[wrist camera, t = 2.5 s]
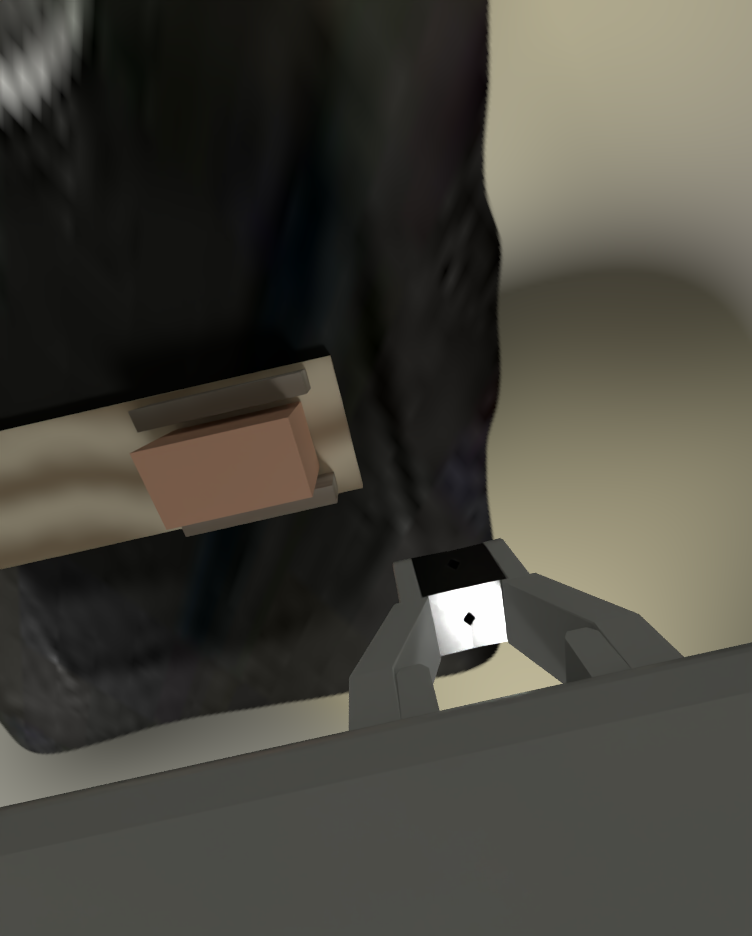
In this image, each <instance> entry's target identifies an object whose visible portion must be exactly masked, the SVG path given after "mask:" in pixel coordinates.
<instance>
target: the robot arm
mask: <svg viewBox="0 0 752 936" xmlns="http://www.w3.org/2000/svg"><path fill="white" fill-rule="evenodd" d="M393 569H394V575H395V580H396V586H397V591H398V596H399V602H400V603H397V604H394V606H393V607H392V609H391V611H390V612H389V614H388V615H387V617H386V619H385V620H384V622H383V624H382V625H381V627H380V628H379V630H378V632H377V633H376V635H375V637H374V638H373V640H372V641H371V643H370V645H369V646H368V648H367V650H366V651H365V653H364V654H363V656H362V658H361V659H360V661H359V663H358V664H357V666H356V668H355V669H354V671H353V672H352V674H351V676H350V677H349V731H346V732H342V733H337V734H332V735H328V736H323V737H319V738H314V739H310V740H305V741H301V742H296V743H291V744H287V745H282V746H278V747H273V748H269V749H264V750H260V751H255V752H251V753H246V754H241V755H237V756H232V757H228V758H223V759H219V760H214V761H210V762H205V763H200V764H196V765H192V766H187V767H182V768H178V769H173V770H168V771H164V772H159V773H155V774H150V775H146V776H141V777H137V778H132V779H128V780H123V781H118V782H114V783H109V784H105V785H100V786H96V787H91V788H87V789H82V790H77V791H73V792H69V793H64V794H59V795H55V796H50V797H46V798H41V799H36V800H32V801H27V802H23V803H18V804H13V805H9V806H4V807H0V936H752V642H751V643H747V644H743V645H738V646H734V647H729V648H724V649H720V650H716V651H711V652H706V653H702V654H697V655H693V656H688V657H683V656H682V655H681V654H680V653H679V652H678V651H677V650H676V649H675V648H674V647H673V646H672V645H671V644H670V643H669V642H668V641H667V640H666V639H665V638H663V637H662V636H661V635H660V634H659V633H658V632H657V631H656V630H655V629H654V628H653V627H652V626H651V625H650V624H649V623H648V622H647V621H646V620H645V619H643V617H641V616H640V615H639V614H637V613H635V612H632V611H630V610H627V609H625V608H622V607H619V606H617V605H615V604H612V603H610V602H607V601H605V600H602V599H599V598H597V597H595V596H592V595H589V594H587V593H584V592H582V591H580V590H577V589H574V588H572V587H570V586H567V585H565V584H562V583H559V582H557V581H555V580H552V579H549V578H547V577H544V576H542V575H539V574H537V573H532V574H529V572H527V570H526V569H525V567H524V566H523V565H522V563H521V562H520V561H519V560H518V558H517V557H516V556H515V555H514V553H513V552H512V551H511V549H510V548H509V547H508V545H507V544H506V543H505V542H504V540H503V539H500V538H499V539H495V540H491V541H487V542H483V543H481V544H477V545H473V546H469V547H464V548H460V549H456V550H452V551H448V552H447V551H446V552H441V553H436V554H431V555H426V556H421V557H416V558H411V559H406V560H402V561H397V562H393ZM505 641H508V642H509V644H511V645H512V646H514V647H515V648H516V649H518V650H519V651H520V652H522V653H523V654H524V655H525V656H527V657H528V658H529V659H531V660H532V661H534V662H535V663H536V664H537V665H539V666H540V667H542V668H543V669H544V670H546V671H547V672H548V673H550V674H551V675H552V676H554V677H555V678H556V679H558V680H559V681H560V682H562V683H563V684H560V685H555V686H550V687H546V688H541V689H537V690H532V691H528V692H524V693H519V694H514V695H510V696H505V697H501V698H496V699H492V700H487V701H482V702H478V703H474V704H469V705H464V706H460V707H455V708H451V709H446V710H442V711H439V707H438V703H437V699H436V695H435V691H434V687H433V683H434V680H435V676H436V673H437V670H438V666H439V663H440V660H441V656H442V655H446V654H450V653H454V652H458V651H462V650H466V649H470V648H474V647H479V646H484V645H490V644H495V643H500V642H505Z"/></svg>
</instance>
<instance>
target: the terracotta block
mask: <svg viewBox="0 0 752 936" xmlns="http://www.w3.org/2000/svg"><path fill="white" fill-rule="evenodd" d="M129 454H130V456H131V458H132V460H133V462H134V464H135V466H136V468H137V470H138V472H139V474H140V476H141V478H142V480H143V482H144V485H145V487H146V489H147V491H148V493H149V495H150V497H151V499H152V501H153V503H154V505H155V507H156V509H157V511H158V513H159V515H160V518H161V520H162V522H163V524H164V526H165V528H166V530H169V529H173V528H178V527H182V526H187V525H191V524H195V523H200V522H204V521H209V520H213V519H218V518H222V517H226V516H231V515H235V514H240V513H244V512H249V511H253V510H257V509H262V508H266V507H271V506H275V505H280V504H284V503H289V502H293V501H297V500H302V499H306V498H311V497H313V493H314V489H315V485H316V480H317V476H318V472H319V468H320V466H319V462H318V459H317V455H316V452H315V448H314V445H313V441H312V438H311V435H310V431H309V428H308V424H307V421H306V417H305V414H304V410H303V407H302V403H301V401H300V402H295V403H291V404H286V405H282V406H278V407H273V408H269V409H264V410H260V411H256V412H251V413H247V414H243V415H238V416H234V417H229V418H225V419H221V420H216V421H212V422H208V423H203V424H199V425H194V426H190V427H186V428H181V429H177V430H174V431H172V432H170V433H168V434H166V435H164V436H162V437H160V438H158V439H156V440H154V441H153V442H151V443H149V444H147V445H145V446H143V447H141V448H139V449H137V450H135V451H133V452H131V453H129Z"/></svg>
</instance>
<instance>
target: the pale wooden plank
mask: <svg viewBox="0 0 752 936" xmlns="http://www.w3.org/2000/svg"><path fill="white" fill-rule="evenodd" d="M300 401H301V403H302V407H303V410H304V414H305V417H306V421H307V424H308V428H309V431H310V435H311V438H312V441H313V445H314V448H315V452H316V455H317V459H318V462H319V466H320V468H319V472H318V476H317V480H316V485H315V489H314V493H313V497H311V498H306V499H302V500H297V501H293V502H289V503H284V504H280V505H275V506H271V507H266V508H262V509H257V510H253V511H249V512H244V513H240V514H235V515H231V516H226V517H222V518H218V519H213V520H209V521H204V522H200V523H195V524H191V525H187V526H182V527H178V528H173V529H169V530H166V528H165V526H164V524H163V522H162V520H161V518H160V515H159V513H158V511H157V509H156V507H155V505H154V503H153V501H152V499H151V497H150V495H149V493H148V491H147V489H146V487H145V485H144V482H143V480H142V478H141V476H140V474H139V472H138V470H137V468H136V466H135V464H134V462H133V460H132V458H131V456H130V454H129V453H131V452H133V451H135V450H137V449H139V448H141V447H143V446H145V445H147V444H149V443H151V442H153V441H154V440H156V439H158V438H160V437H162V436H164V435H166V434H168V433H170V432H172V431H174V430H177V429H181V428H186V427H190V426H194V425H199V424H203V423H208V422H212V421H216V420H221V419H225V418H229V417H234V416H238V415H243V414H247V413H251V412H256V411H260V410H264V409H269V408H273V407H278V406H282V405H286V404H291V403H295V402H300ZM359 488H363V485H362V480H361V476H360V472H359V468H358V464H357V460H356V456H355V452H354V448H353V443H352V439H351V435H350V431H349V427H348V423H347V419H346V415H345V411H344V407H343V403H342V399H341V395H340V391H339V387H338V383H337V379H336V375H335V371H334V367H333V363H332V359H331V355H329V356H325V357H320V358H316V359H312V360H307V361H303V362H299V363H294V364H290V365H286V366H281V367H277V368H273V369H268V370H264V371H259V372H255V373H251V374H246V375H242V376H238V377H233V378H229V379H225V380H220V381H216V382H211V383H207V384H203V385H198V386H194V387H190V388H185V389H181V390H177V391H172V392H168V393H163V394H159V395H155V396H150V397H146V398H142V399H137V400H133V401H129V402H124V403H120V404H116V405H111V406H107V407H102V408H98V409H94V410H89V411H85V412H81V413H76V414H72V415H68V416H63V417H59V418H54V419H50V420H46V421H41V422H37V423H33V424H28V425H24V426H20V427H15V428H11V429H7V430H2V431H0V569H4V568H9V567H13V566H17V565H22V564H26V563H31V562H35V561H40V560H44V559H48V558H53V557H57V556H62V555H66V554H71V553H75V552H80V551H84V550H88V549H93V548H97V547H102V546H106V545H111V544H115V543H119V542H124V541H128V540H133V539H137V538H142V537H146V536H150V535H155V534H159V533H164V532H168V531H173V530H177V529H183V531H184V533H185V536H186V537H188V536H192V535H196V534H201V533H205V532H210V531H214V530H219V529H223V528H228V527H232V526H236V525H241V524H245V523H250V522H254V521H259V520H263V519H268V518H272V517H276V516H281V515H285V514H290V513H294V512H299V511H303V510H307V509H312V508H316V507H321V506H325V505H330V504H334V503H337V499H338V493H341V492H346V491H350V490H354V489H359Z"/></svg>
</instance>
